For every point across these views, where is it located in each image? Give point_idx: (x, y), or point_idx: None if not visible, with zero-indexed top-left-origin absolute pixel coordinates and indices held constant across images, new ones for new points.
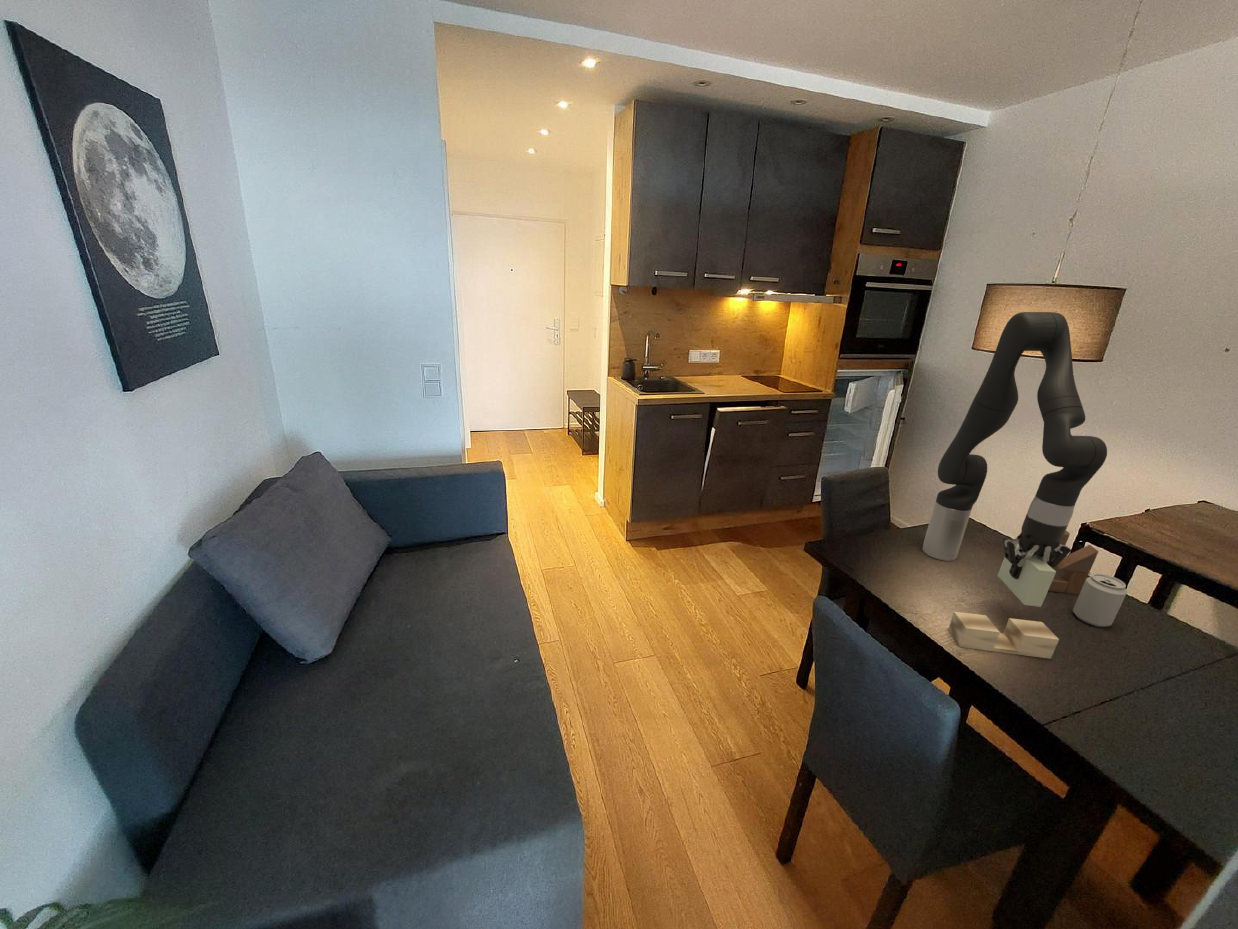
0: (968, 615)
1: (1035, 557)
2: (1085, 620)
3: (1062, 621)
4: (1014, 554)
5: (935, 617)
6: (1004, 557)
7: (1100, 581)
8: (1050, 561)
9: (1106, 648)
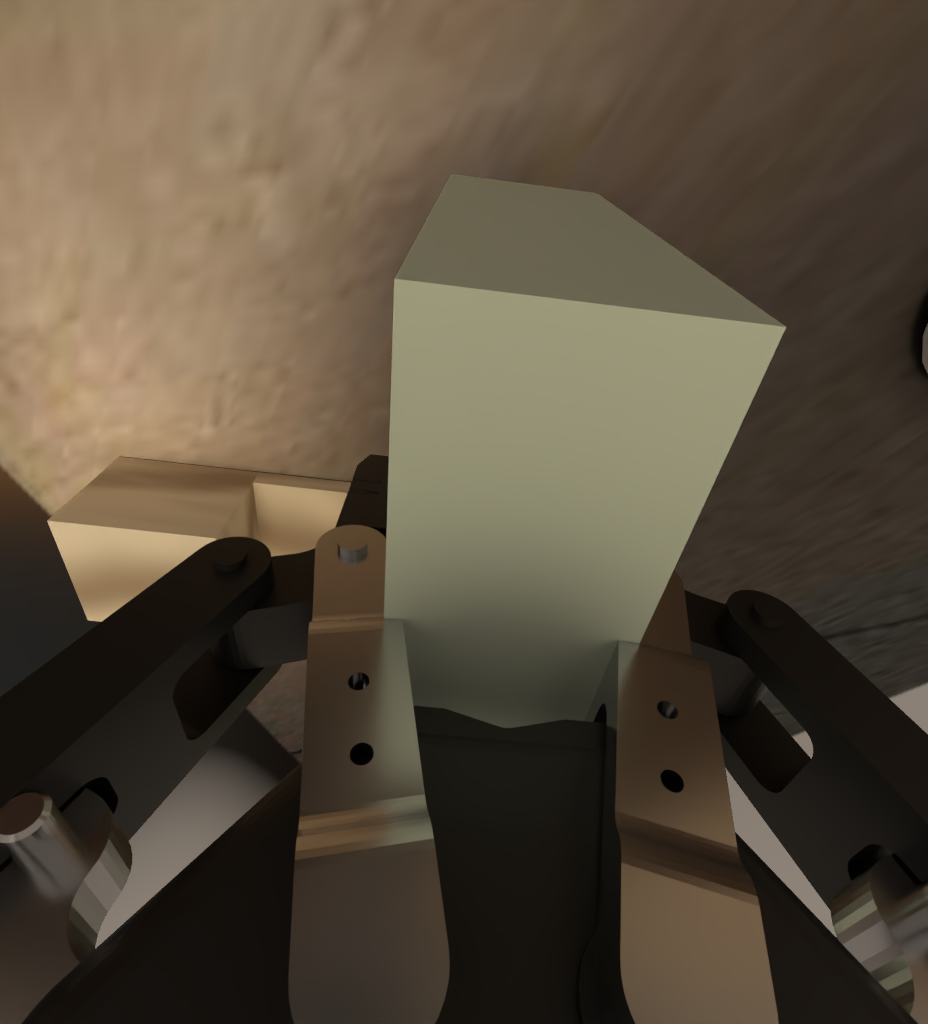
0: (119, 544)
1: (534, 715)
2: (924, 358)
3: (794, 342)
4: (182, 764)
5: (71, 364)
6: (434, 207)
7: None
8: (732, 697)
9: (785, 521)
